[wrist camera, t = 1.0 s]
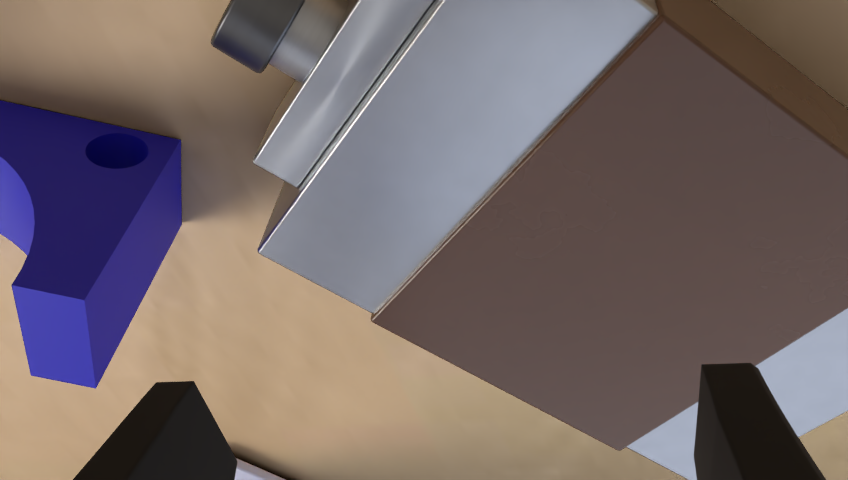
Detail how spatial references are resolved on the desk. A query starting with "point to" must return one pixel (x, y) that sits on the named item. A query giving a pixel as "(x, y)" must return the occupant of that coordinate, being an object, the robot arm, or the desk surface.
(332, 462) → the desk surface
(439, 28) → the brown slab with knob
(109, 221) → the cable clip
